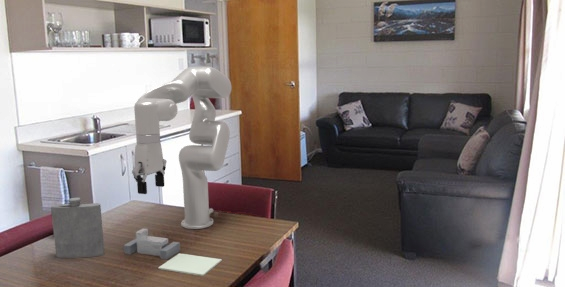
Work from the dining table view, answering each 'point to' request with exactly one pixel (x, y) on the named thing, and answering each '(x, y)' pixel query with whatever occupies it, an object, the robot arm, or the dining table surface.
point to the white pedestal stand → (149, 243)
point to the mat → (190, 264)
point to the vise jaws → (164, 253)
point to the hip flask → (78, 229)
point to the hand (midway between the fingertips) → (151, 189)
